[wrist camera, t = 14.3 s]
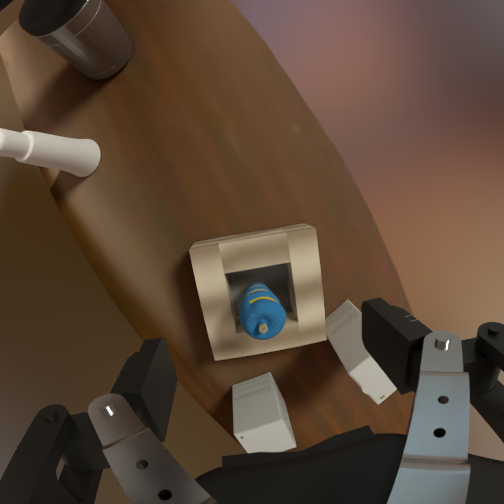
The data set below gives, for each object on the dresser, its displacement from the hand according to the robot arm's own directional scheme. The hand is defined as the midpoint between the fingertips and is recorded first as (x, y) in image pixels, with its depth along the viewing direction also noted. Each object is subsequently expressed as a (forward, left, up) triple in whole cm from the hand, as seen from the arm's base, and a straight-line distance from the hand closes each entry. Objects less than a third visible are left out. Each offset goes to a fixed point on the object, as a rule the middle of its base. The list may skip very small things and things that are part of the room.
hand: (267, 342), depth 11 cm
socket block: (+8, +1, -32) cm, 33 cm away
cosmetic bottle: (-16, -22, -32) cm, 42 cm away
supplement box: (+28, -2, -32) cm, 43 cm away
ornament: (+8, +1, -32) cm, 33 cm away
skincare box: (+18, +14, -32) cm, 39 cm away
